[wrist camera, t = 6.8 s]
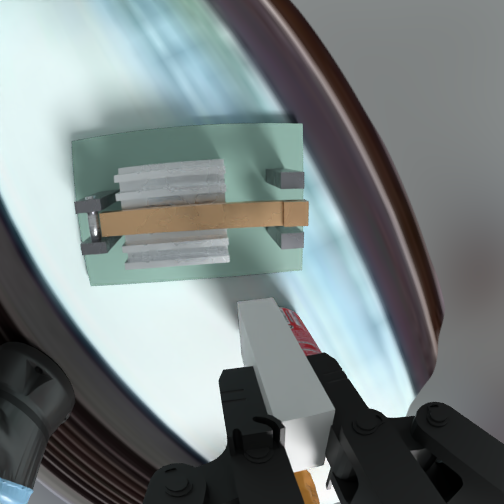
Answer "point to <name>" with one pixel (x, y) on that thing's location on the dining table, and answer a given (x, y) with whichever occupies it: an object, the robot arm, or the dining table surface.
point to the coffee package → (307, 487)
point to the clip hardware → (101, 245)
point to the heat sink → (170, 194)
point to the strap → (205, 217)
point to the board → (237, 190)
